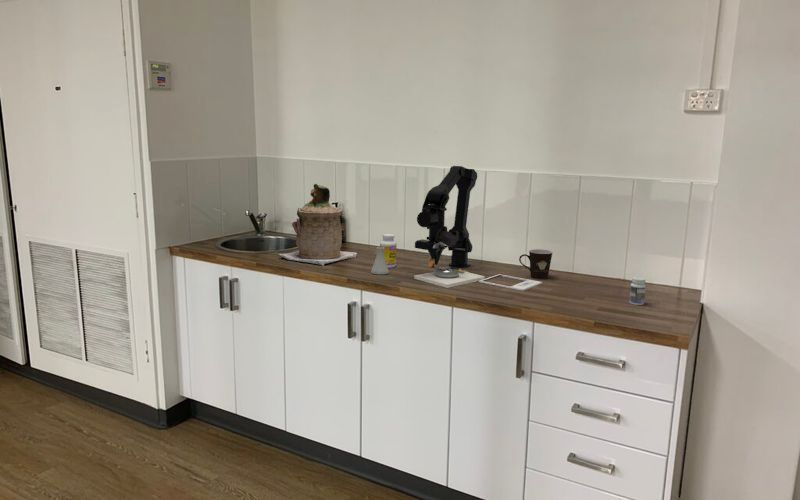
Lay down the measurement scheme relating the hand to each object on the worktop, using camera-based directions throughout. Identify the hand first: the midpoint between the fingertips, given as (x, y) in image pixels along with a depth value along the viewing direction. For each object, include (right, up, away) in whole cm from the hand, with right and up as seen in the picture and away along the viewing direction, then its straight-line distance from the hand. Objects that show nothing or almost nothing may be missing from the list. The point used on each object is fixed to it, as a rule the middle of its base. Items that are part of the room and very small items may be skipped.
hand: (435, 264), depth 234 cm
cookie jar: (-48, +2, +29) cm, 56 cm away
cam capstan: (+4, -4, -5) cm, 7 cm away
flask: (-21, -4, +3) cm, 22 cm away
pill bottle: (+64, -12, -32) cm, 72 cm away
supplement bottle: (-18, -1, +15) cm, 24 cm away
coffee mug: (+38, -5, +2) cm, 38 cm away
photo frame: (+27, -7, -8) cm, 29 cm away
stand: (+5, -5, -5) cm, 9 cm away
